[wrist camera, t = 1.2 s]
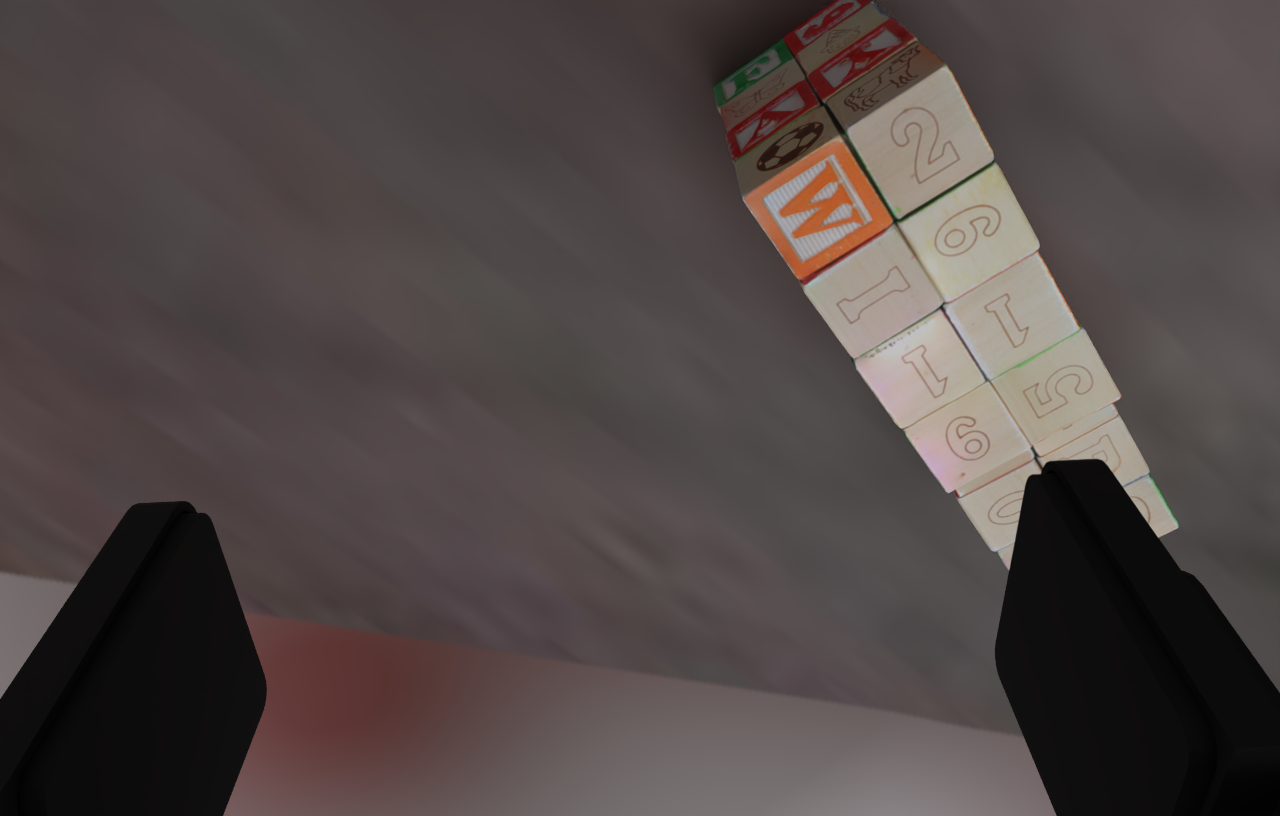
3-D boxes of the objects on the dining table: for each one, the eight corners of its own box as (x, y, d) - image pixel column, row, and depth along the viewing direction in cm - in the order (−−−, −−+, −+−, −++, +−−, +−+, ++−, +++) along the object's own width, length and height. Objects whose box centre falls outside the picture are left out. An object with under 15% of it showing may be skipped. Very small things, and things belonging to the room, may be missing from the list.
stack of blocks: (1083, 401, 45) (1224, 586, 35) (956, 469, 47) (1054, 664, 37) (853, -20, 36) (951, 60, 26) (705, 84, 38) (740, 199, 27)
